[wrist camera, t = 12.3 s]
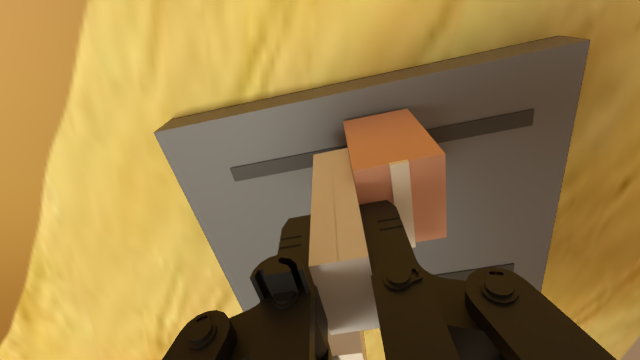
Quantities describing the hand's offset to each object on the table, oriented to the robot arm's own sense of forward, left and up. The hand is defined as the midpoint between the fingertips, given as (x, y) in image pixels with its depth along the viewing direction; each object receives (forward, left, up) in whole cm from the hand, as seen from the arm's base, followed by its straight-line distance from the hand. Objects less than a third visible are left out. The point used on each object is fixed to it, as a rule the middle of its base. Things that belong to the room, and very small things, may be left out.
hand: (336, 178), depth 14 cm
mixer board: (-5, -2, -4) cm, 7 cm away
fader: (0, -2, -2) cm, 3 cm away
